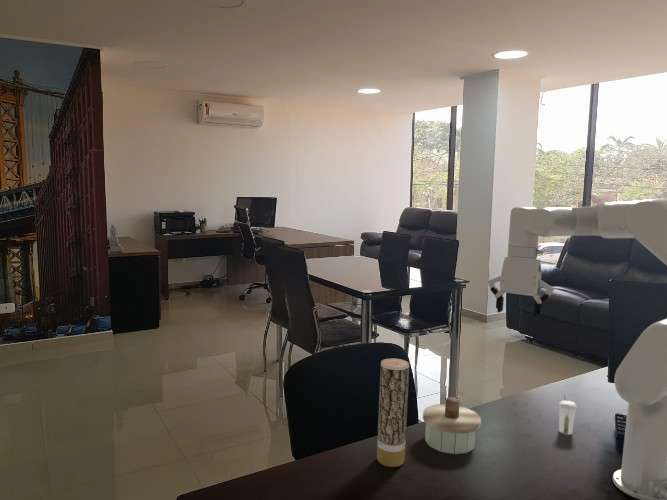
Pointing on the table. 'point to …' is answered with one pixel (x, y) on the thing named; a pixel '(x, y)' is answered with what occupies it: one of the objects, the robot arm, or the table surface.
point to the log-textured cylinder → (392, 412)
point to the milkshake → (566, 416)
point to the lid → (452, 417)
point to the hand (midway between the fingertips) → (517, 314)
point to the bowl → (449, 440)
